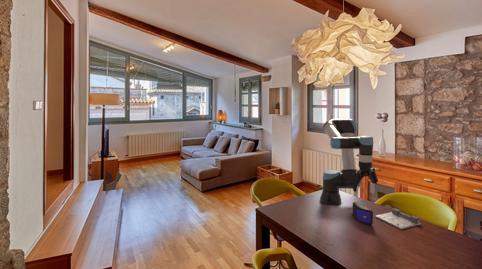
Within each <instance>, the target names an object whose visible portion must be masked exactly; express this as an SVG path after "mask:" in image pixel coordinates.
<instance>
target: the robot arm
mask: <svg viewBox="0 0 482 269" xmlns="http://www.w3.org/2000/svg"><path fill="white" fill-rule="evenodd" d="M322 126H323V127H322V131H323V133H324V134H325V135H327V136H328V138H329V139H330V140H329V141H330V142H329V143H330V148H331V149H334V150H335V149H336V150H341V159H342V160H341V161H342V162H341V163H342V169H341V170H338V169H328V170H325V171H324V172H323V173H322V191H321V195H320V197H319V201H320V203H322V204H324V205H328V206H338V205H341V204H342V197H341V194H340V189H346V190H347V189H351V190H353V197H356V198H358V197H359V188H360V187H361V185H362V180H363V178H364V177H368V179H369V180H370V183H369V184H370V185H369V186H370V187H369V193H371V194H373V195H374V194H375V188H376V184H378V182H379V179H378V176H377V173H376V168H375V167H373V155H374V153H373V152H374V136H371V135H361V136H355V134H356V133H357V124H356V121H355V120H354V119H352V118H332V119H331V118H330V119H328V120H327V121H325V122H324V124H323V125H322ZM355 150H358V168H359V169H358V168H356V161H355Z"/></svg>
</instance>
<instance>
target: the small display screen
mask: <svg viewBox="0 0 482 269" xmlns="http://www.w3.org/2000/svg"><path fill="white" fill-rule="evenodd" d="M351 214H352V217H353V218H354V219H355V220H356V221H358V222H360V223H362V224H365V225H368V226H372V225H373V224H374V223H373V222H374V220H373V219H374V211H372V209H370V208H369V207H366V206H364V205H362V204H360V203H358V202H356V201H354V202H352V213H351Z"/></svg>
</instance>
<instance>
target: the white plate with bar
mask: <svg viewBox="0 0 482 269" xmlns="http://www.w3.org/2000/svg"><path fill="white" fill-rule="evenodd" d="M375 218H376V219H378V220H380V221H381V222H384V223H386V224H389V225H390V226H393V227H395V228H397V229H399V230H404V229H405V230H406V229H408V228H409V229H410V228H413V227H416V226H420V225H421V219H420V217H418V216H415V215H409V214H406V213H405V212H401V210H400V209H398V208H393V209H391V211H390V212H386V213H381V214H377V215H375Z"/></svg>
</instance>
